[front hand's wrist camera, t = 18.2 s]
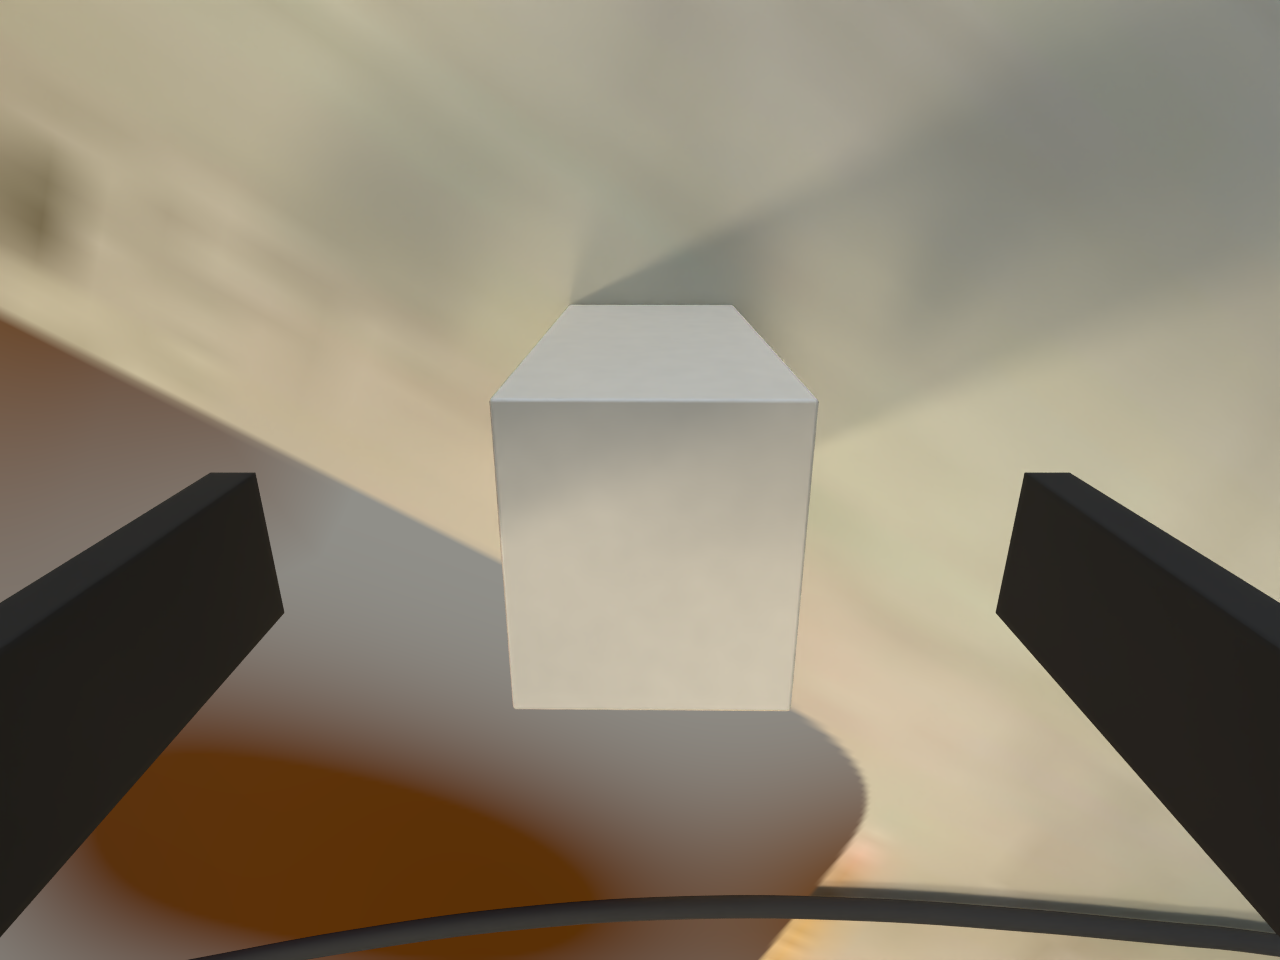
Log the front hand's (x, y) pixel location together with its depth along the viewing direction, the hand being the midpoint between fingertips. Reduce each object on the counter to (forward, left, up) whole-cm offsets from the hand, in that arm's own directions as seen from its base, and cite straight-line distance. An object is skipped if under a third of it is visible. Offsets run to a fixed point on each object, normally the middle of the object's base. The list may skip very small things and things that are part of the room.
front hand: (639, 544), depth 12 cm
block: (0, 0, -11) cm, 11 cm away
